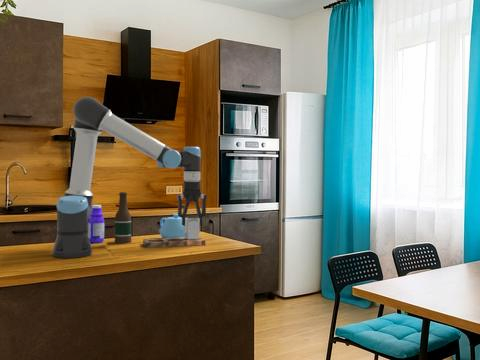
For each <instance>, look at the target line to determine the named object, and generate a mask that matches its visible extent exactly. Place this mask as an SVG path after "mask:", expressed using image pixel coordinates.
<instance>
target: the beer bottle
mask: <svg viewBox="0 0 480 360" xmlns="http://www.w3.org/2000/svg"><path fill="white" fill-rule="evenodd" d="M118 194H119V203H118V209H117V212H116V213H115V216H114V244H119V245H121V244H123V245H124V244H131V243H132V216H131V212H130V211H129V209H128V200H127V199H128V198H127V197H128V193H127V192H126V191H120V192H119V193H118Z"/></svg>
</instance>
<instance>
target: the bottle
mask: <svg viewBox="0 0 480 360" xmlns="http://www.w3.org/2000/svg"><path fill="white" fill-rule="evenodd" d="M103 215H104V213H103V211H102V205H101V204H92V214H91V216H90V218H89V219H88V238H89V241H90V244H91V243H92V244H98V243H103V242H104V240H105V219H104V217H103Z"/></svg>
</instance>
